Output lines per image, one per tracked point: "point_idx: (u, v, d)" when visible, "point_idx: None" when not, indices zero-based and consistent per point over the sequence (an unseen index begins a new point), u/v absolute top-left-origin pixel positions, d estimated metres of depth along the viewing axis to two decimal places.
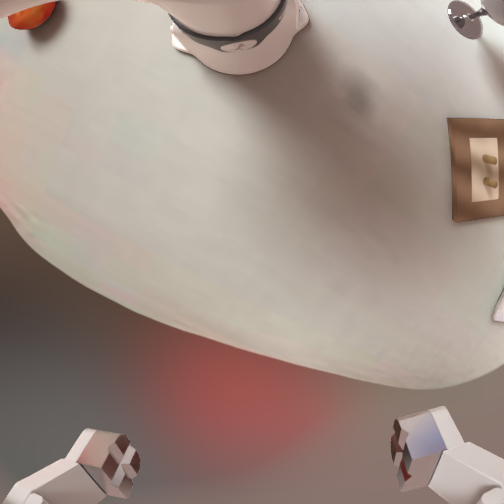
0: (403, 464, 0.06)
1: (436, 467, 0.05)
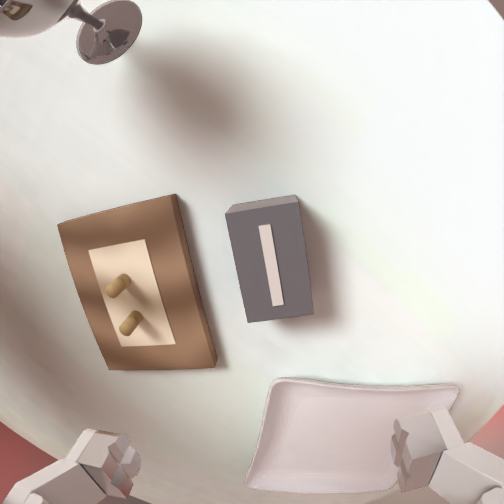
0: (403, 464, 0.06)
1: (437, 467, 0.05)
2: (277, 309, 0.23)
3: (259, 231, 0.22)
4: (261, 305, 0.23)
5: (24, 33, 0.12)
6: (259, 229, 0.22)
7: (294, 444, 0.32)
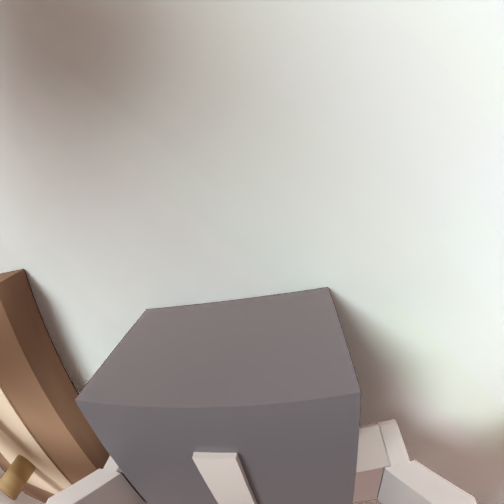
0: None
1: (381, 482, 0.06)
2: None
3: (198, 468, 0.05)
4: None
5: None
6: (196, 461, 0.05)
7: None
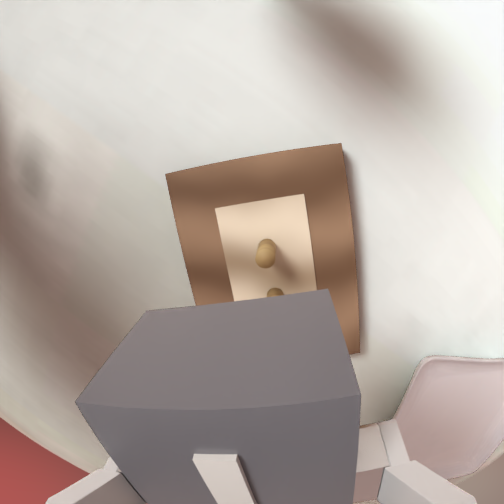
0: None
1: (382, 482, 0.06)
2: None
3: (199, 470, 0.05)
4: None
5: None
6: (196, 463, 0.05)
7: (407, 433, 0.28)
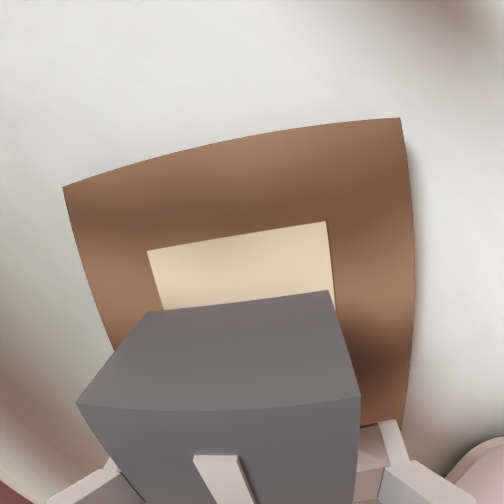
0: None
1: (381, 482, 0.06)
2: None
3: (199, 470, 0.05)
4: None
5: None
6: (196, 463, 0.05)
7: None
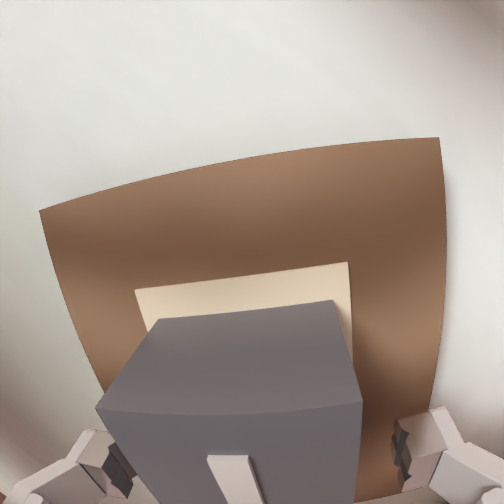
0: (403, 464, 0.06)
1: (437, 466, 0.06)
2: None
3: (211, 470, 0.05)
4: None
5: None
6: (209, 463, 0.05)
7: None
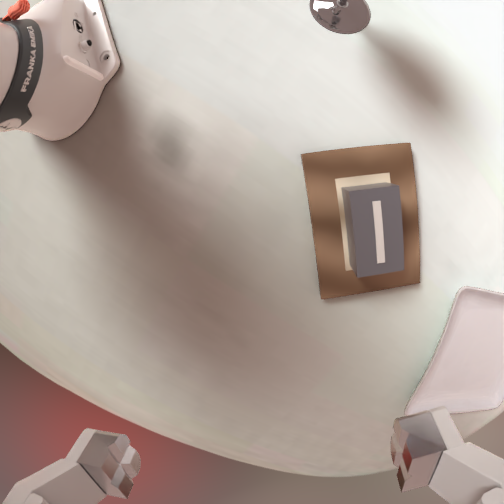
0: (403, 464, 0.06)
1: (436, 467, 0.06)
2: (380, 266, 0.29)
3: (372, 205, 0.28)
4: (368, 263, 0.29)
5: None
6: (372, 203, 0.28)
7: (448, 360, 0.37)
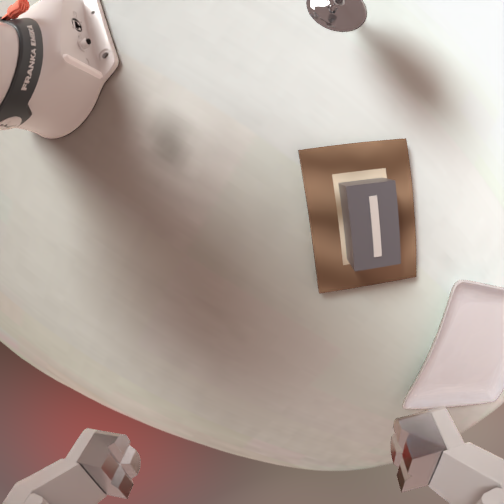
0: (403, 464, 0.06)
1: (437, 466, 0.06)
2: (376, 260, 0.30)
3: (369, 200, 0.28)
4: (366, 257, 0.30)
5: None
6: (369, 198, 0.28)
7: (445, 354, 0.38)
